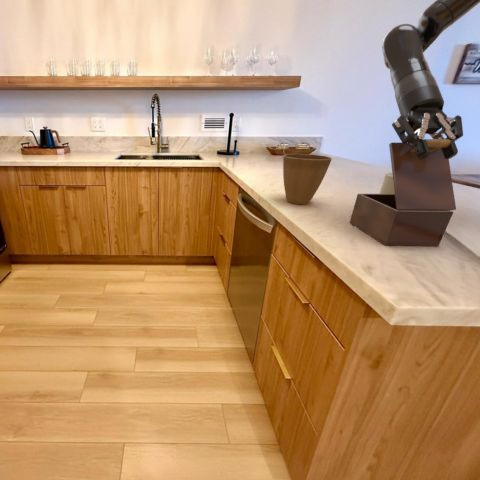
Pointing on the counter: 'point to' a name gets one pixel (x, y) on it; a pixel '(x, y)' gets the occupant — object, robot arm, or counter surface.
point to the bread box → (398, 221)
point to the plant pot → (303, 176)
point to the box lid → (422, 177)
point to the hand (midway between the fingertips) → (438, 156)
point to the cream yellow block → (387, 184)
